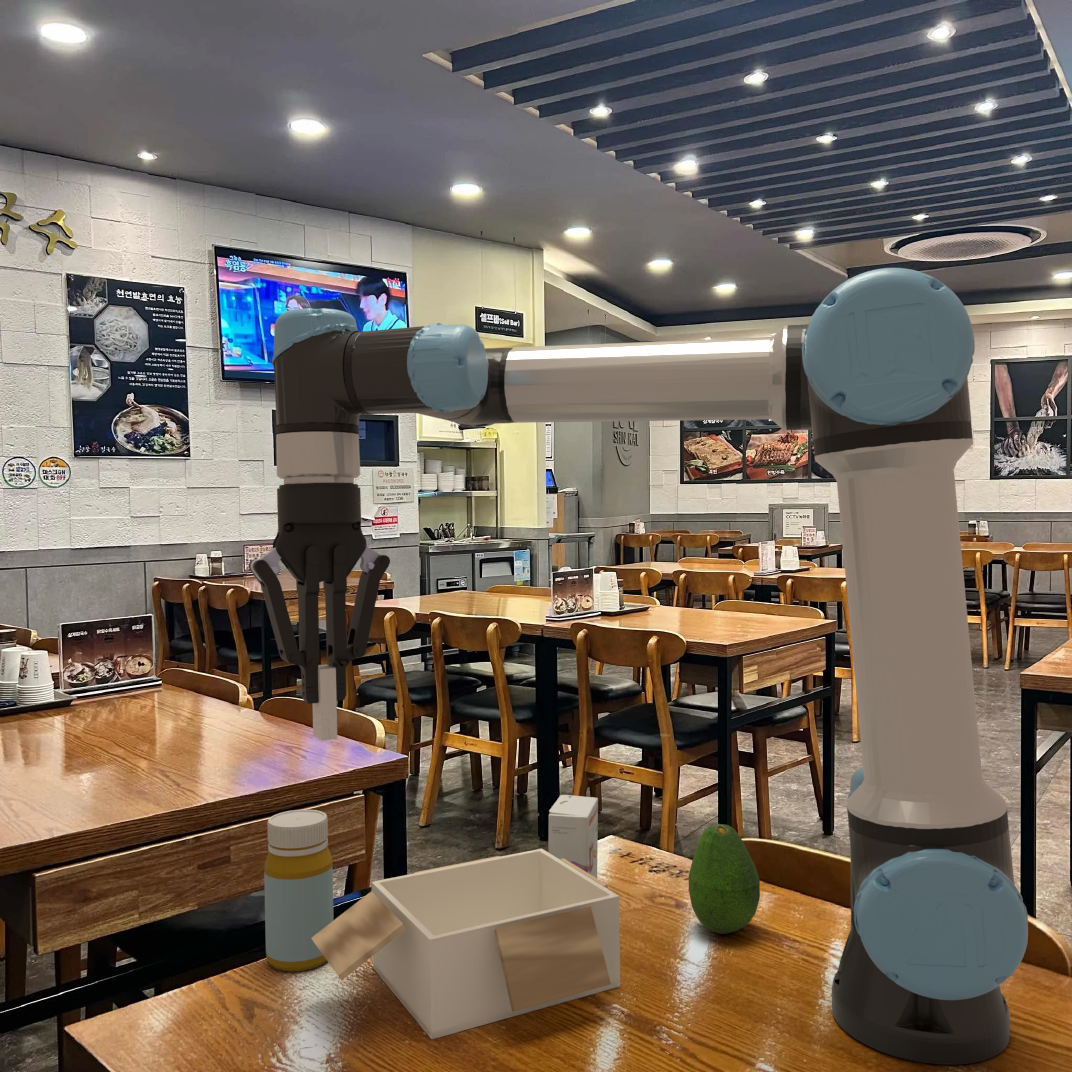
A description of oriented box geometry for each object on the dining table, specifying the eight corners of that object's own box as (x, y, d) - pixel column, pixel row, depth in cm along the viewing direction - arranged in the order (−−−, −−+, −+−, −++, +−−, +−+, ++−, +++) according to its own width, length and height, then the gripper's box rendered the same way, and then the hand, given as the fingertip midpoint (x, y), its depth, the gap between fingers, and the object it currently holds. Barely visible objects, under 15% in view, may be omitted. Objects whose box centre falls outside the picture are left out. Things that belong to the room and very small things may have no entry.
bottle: (274, 979, 100) (271, 832, 100) (259, 953, 106) (257, 814, 106) (342, 964, 103) (339, 821, 103) (323, 939, 110) (321, 804, 109)
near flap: (587, 907, 95) (608, 985, 92) (494, 929, 90) (512, 1012, 87) (590, 906, 95) (611, 984, 92) (496, 928, 90) (514, 1011, 87)
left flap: (403, 923, 91) (338, 975, 88) (406, 928, 91) (341, 980, 88) (371, 891, 99) (311, 937, 96) (374, 895, 99) (314, 942, 96)
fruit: (674, 933, 110) (673, 825, 110) (713, 911, 116) (712, 809, 115) (736, 954, 105) (735, 841, 104) (774, 930, 110) (773, 823, 110)
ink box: (589, 916, 115) (588, 815, 115) (547, 913, 116) (545, 813, 116) (599, 888, 123) (598, 794, 123) (559, 886, 124) (558, 792, 124)
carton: (627, 984, 98) (626, 894, 98) (431, 1039, 88) (429, 939, 88) (545, 923, 113) (544, 845, 113) (370, 964, 103) (369, 879, 103)
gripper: (373, 483, 98) (378, 721, 98) (237, 483, 91) (244, 738, 92) (400, 480, 91) (406, 735, 91) (256, 480, 85) (263, 754, 85)
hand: (325, 736), depth 92 cm, fingers closed
